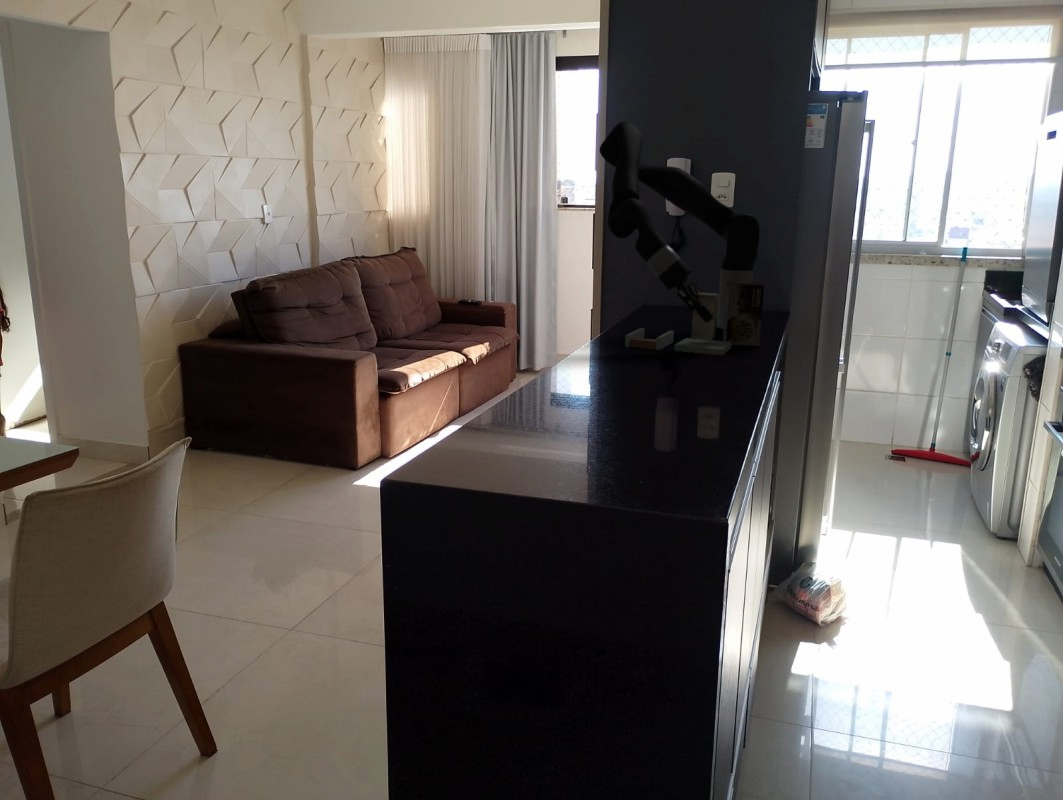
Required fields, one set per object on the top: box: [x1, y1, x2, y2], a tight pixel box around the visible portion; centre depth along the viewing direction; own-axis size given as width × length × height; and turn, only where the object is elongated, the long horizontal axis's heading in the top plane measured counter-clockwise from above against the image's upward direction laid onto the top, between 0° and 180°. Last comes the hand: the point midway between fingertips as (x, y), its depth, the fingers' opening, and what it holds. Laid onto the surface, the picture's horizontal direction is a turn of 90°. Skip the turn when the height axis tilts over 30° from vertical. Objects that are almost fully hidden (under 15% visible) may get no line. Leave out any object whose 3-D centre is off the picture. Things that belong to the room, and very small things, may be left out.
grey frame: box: [624, 327, 675, 351], centre depth 224 cm, size 14×9×3 cm, turn 157°
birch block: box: [690, 292, 719, 340], centre depth 217 cm, size 5×5×11 cm
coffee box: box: [722, 281, 765, 347], centre depth 227 cm, size 9×6×16 cm
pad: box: [673, 337, 733, 356], centre depth 219 cm, size 12×12×2 cm
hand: (712, 318), depth 217 cm, fingers closed on birch block, 5 cm apart
